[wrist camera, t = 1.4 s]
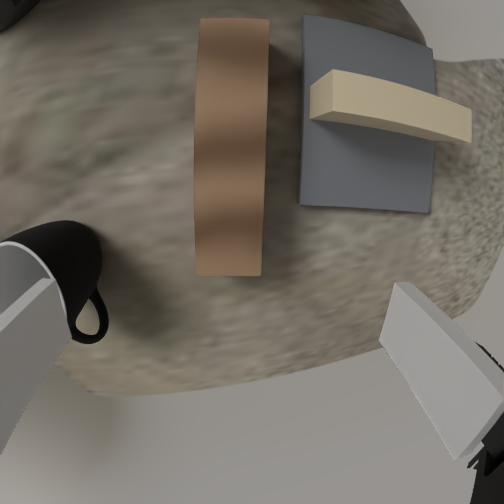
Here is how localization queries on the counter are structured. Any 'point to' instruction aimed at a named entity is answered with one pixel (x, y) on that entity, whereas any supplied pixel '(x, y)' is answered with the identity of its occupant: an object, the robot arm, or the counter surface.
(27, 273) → the mug
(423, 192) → the fulcrum
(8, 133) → the counter surface
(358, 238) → the counter surface
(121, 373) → the counter surface
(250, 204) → the beam
